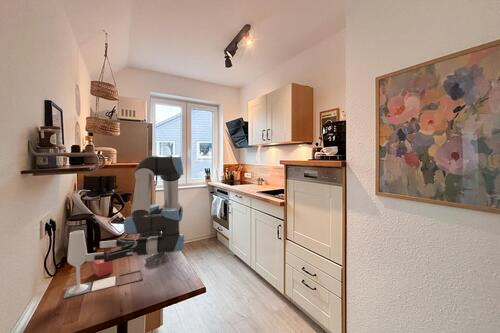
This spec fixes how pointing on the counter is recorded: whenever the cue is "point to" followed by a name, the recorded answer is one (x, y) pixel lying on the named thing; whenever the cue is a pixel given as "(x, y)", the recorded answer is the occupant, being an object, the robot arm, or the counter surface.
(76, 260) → the champagne flute
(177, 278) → the counter surface
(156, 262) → the egg carton
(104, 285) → the game track
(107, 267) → the red die
